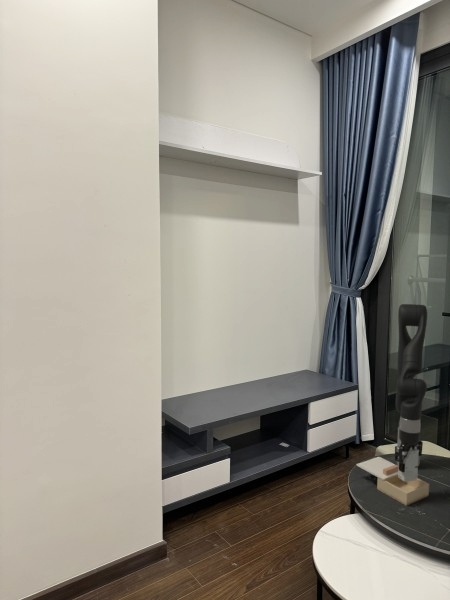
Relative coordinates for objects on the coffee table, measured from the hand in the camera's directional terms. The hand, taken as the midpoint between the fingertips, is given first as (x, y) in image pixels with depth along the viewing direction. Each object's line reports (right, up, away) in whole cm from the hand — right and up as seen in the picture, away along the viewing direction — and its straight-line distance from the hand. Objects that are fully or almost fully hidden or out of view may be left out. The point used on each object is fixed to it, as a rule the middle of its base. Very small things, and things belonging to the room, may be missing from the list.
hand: (407, 469), depth 167 cm
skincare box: (0, -4, 0) cm, 4 cm away
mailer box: (-1, -11, +3) cm, 11 cm away
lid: (-6, -4, +12) cm, 14 cm away
